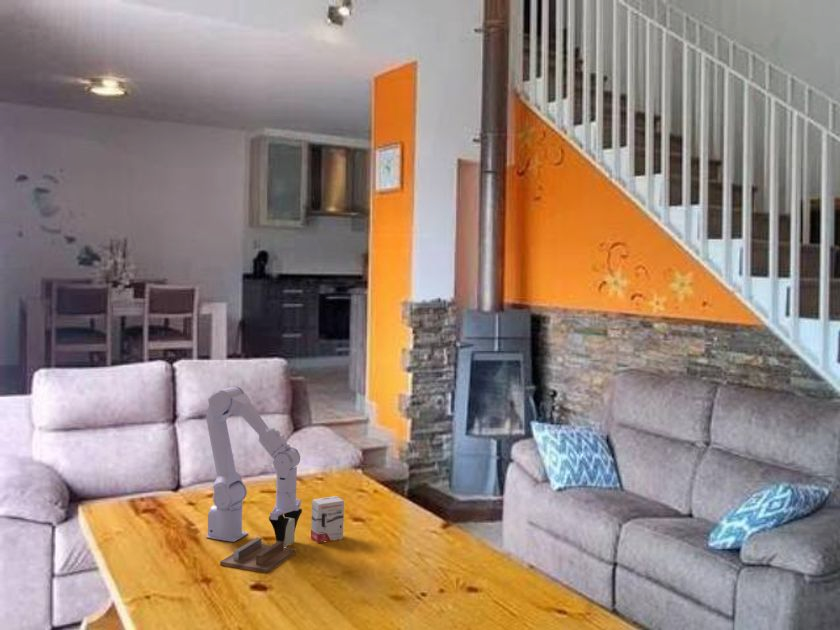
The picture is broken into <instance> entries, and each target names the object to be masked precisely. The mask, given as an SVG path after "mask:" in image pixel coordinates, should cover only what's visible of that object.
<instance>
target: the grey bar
mask: <svg viewBox="0 0 840 630" xmlns="http://www.w3.org/2000/svg"><path fill="white" fill-rule="evenodd" d="M262 538H263V537H255V538H253V539H252V540H250V541H248V542H247V543H245V544H243V545H242V546H240V547H239V548H237V549H235V550H234V551H233V554H234V561H240V560H241V559H243V558H245V557H246V556H248V555H249V554H251V553H252V552H254V551H256V550H257V549H259V548H260V547H262V544H263V542H262Z"/></svg>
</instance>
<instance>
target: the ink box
mask: <svg viewBox="0 0 840 630" xmlns="http://www.w3.org/2000/svg"><path fill="white" fill-rule="evenodd" d="M344 512H345V500H344V499H343V498H340V497H339V496H337V495H334V496H328V497H321V498H314V499H312V501H311V523H310V525H311V526H310V539H312V540H313V541H314V542H315V541H316V542H315V543H317V544H320V543H319V542H322V543H325V542H324V541H328V542H331V541H330V540H333V541H338V540H337V539H339V540H343V539H344V520H345V519H344V518H345V516H344ZM342 538H343V539H342Z"/></svg>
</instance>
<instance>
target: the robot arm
mask: <svg viewBox="0 0 840 630" xmlns="http://www.w3.org/2000/svg"><path fill="white" fill-rule="evenodd" d="M207 401H208V407H207V412H206V416H205V420H206V424H207V430H208V436H209V440H210V446H211V451H212V456H213V461H214V467H215V472H216V479H215V481H214V483H213V495H212V501H213V505H212V506H211V507H210V509H209V511H208V514H207V515H208V516H207V535H206V536H205V538H208V539H212V540H218V541H219V540H220V541H225V542H229V543H235V542H236V541H238V540H240V539H242V538H243V537H245V536H247V535H249V533H248V532H249V531H243V501H244V500H245V498H246V497H247V495H248V494H247V493H248V489H247V487H246V485H245V483H244V482H243V479H242V476H241V475H240V474H239V473H238V472H236V466H235V460H234V455H233V450H232V449H233V448H232V444H231V440H230V439H231V438H230V434H229V430H228V423H227V420H228V418H229V417H230V416H231V415H236V416H240V417H242V419H244V421H245V422H246V423H247V424H248V425H249V426H250V427H251V428H252V429H253V430H254V432H255V433H256V434H257V435H258V442H259V443H260V445H261V446H262V447H263V448H264V450H265V451H266V452H267V453H268V455H269V456H270V457H271V458H272V464H273V467H274V469H275V470H276V487H275V488H276V492H275V506H274V507H273V509H272V511H270V515H269V517H268V520H269V522H270V524H271V525H272V529H273V531H274V535H275V541H276V540H277V541H284V538H285V531H286V526H287V523H288V521H289V518H295V530H296V528H297V525H298V522H299V519H300V516H301V515H302V513H303V509H302V508H300V507H301V505H302V504H301V503H302V502H301V501H302V500H301V499H299V498H297V484H298V483H297V482H298V481H297V478H298V477H297V474H298V473H297V472H298V471H297V469H298V468H297V466H298V465H299V464H300V461H301V456H300V453H299V451H298V449H297V448H296V447H293V446H291V445H290V444H288V443H287V442H286V441H285V439H284V438H283V437H282V436H281V432H280V431H279V430H276V429H275V428H273V427H269V426H268V425H267V424H266V422H265V421H264V419H263V418H262V417H261V415H260V414H259V413H258V411H257V409H255V407H254V405H253V403H252V402H251V400H250V397H249V395H248V394H246V393H245V391H244V389H242V387H239V386H238V385H233V386H229V387H227V388H224V389H218V390H215V391H214V392H213V393H212V395H211V396H209V398H208V400H207ZM285 517H289V518H285Z"/></svg>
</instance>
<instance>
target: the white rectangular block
mask: <svg viewBox="0 0 840 630" xmlns="http://www.w3.org/2000/svg"><path fill="white" fill-rule="evenodd" d="M284 518H289V517H284ZM295 531H296V529H295V518H289V521H288V523H287V526H286V531H285V538H284V541H283V547H286V548H288V547H289V546H290V544H291V543H292V544H293V542H294V543H295V534H296V532H295ZM276 542H278V541H277V540H276V539H275V543H276ZM292 544H291V545H292ZM288 545H289V546H288ZM287 546H288V547H287Z"/></svg>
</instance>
